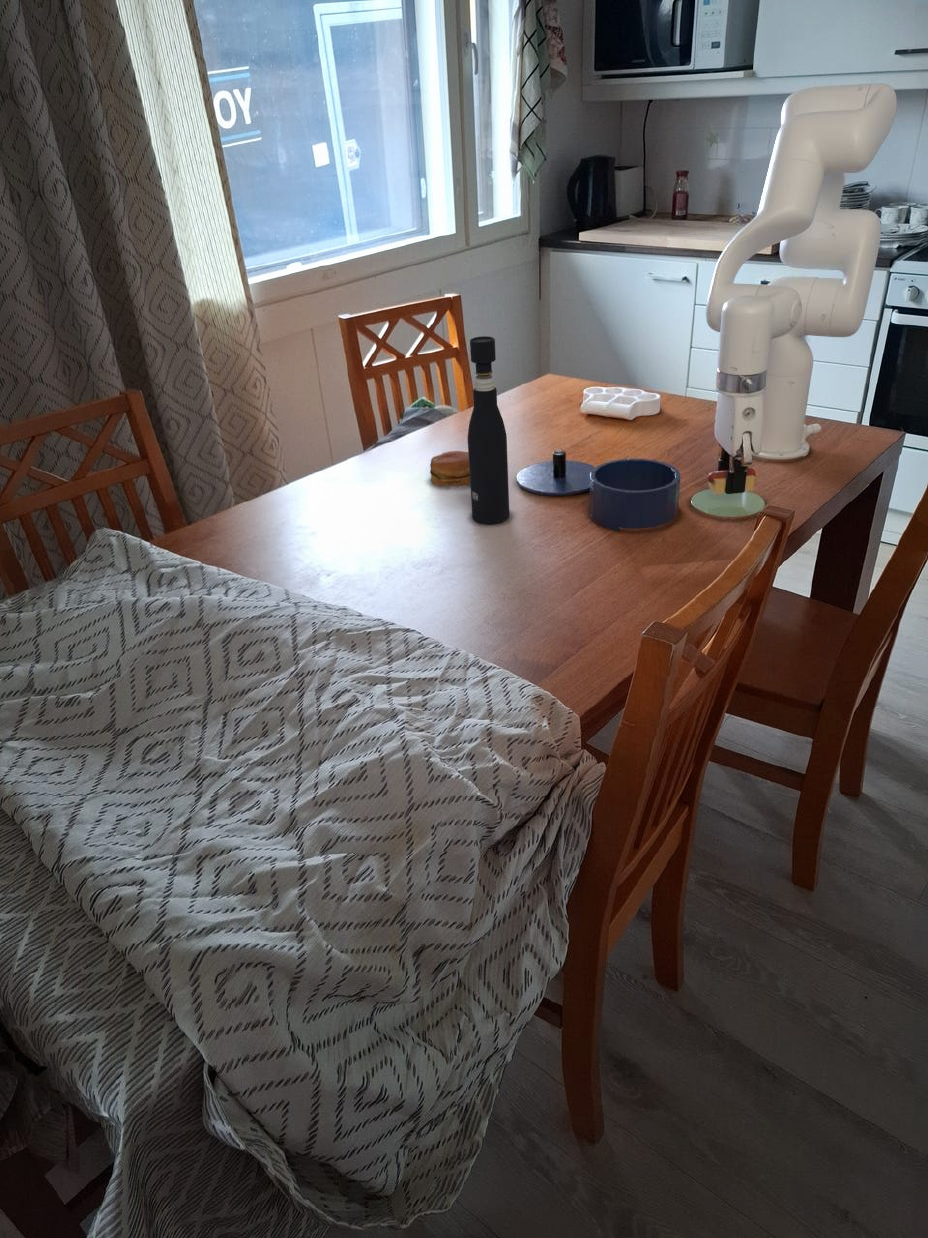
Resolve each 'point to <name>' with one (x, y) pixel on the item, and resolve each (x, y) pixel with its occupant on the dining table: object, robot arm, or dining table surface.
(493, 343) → the black bottle
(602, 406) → the white compartment tray
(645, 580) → the dining table surface
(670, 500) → the pot
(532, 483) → the pot lid
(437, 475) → the burger
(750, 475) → the hot dog
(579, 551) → the dining table surface
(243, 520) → the dining table surface
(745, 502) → the plate
